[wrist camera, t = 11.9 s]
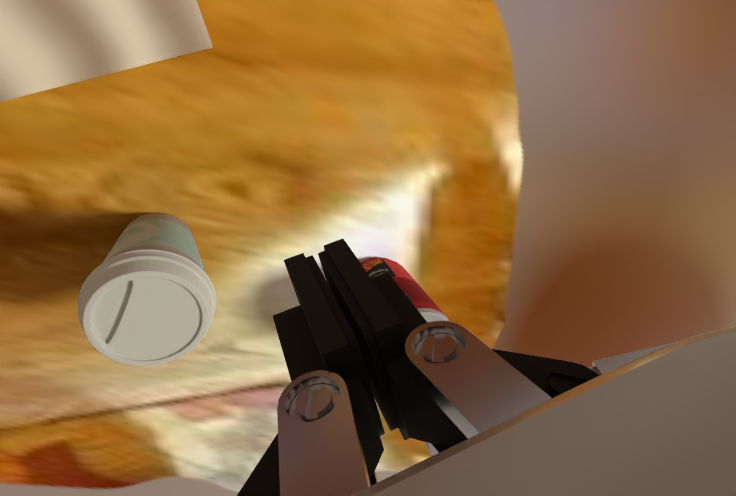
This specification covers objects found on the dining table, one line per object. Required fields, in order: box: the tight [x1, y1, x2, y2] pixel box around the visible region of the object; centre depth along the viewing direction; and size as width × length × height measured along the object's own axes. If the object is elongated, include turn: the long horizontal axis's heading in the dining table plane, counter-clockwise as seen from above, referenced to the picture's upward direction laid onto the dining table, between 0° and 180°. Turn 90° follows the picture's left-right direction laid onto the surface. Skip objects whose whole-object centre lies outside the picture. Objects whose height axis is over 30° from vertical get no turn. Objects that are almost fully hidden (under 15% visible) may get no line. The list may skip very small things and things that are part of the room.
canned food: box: [361, 258, 449, 322], centre depth 45 cm, size 8×8×11 cm
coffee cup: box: [78, 213, 216, 366], centre depth 34 cm, size 8×8×12 cm
